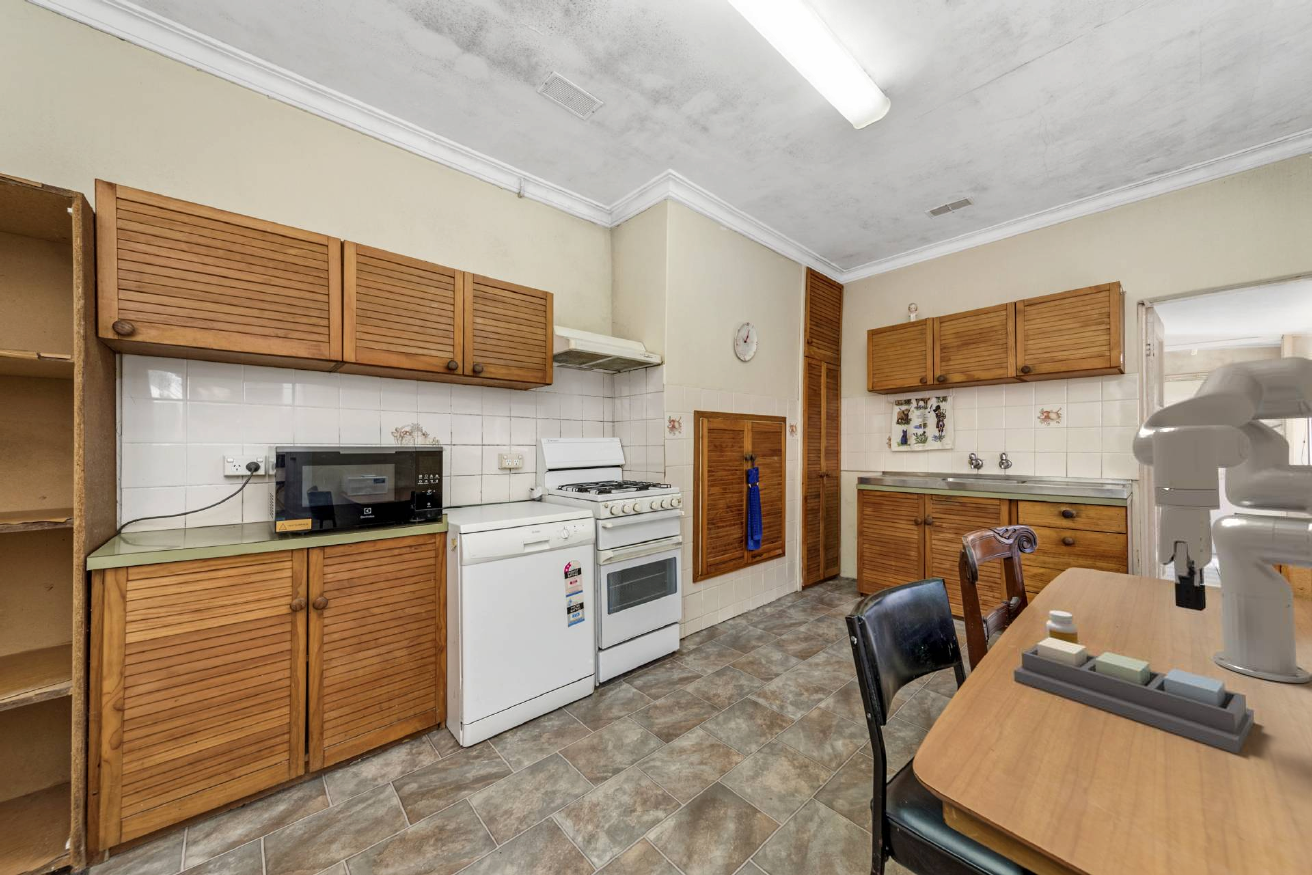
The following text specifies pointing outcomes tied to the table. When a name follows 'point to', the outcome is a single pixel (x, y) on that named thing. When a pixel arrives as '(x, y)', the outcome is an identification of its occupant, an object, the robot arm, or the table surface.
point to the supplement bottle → (1061, 627)
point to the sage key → (1123, 668)
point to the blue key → (1195, 687)
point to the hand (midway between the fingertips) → (1190, 607)
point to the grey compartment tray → (1142, 700)
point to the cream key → (1062, 651)
